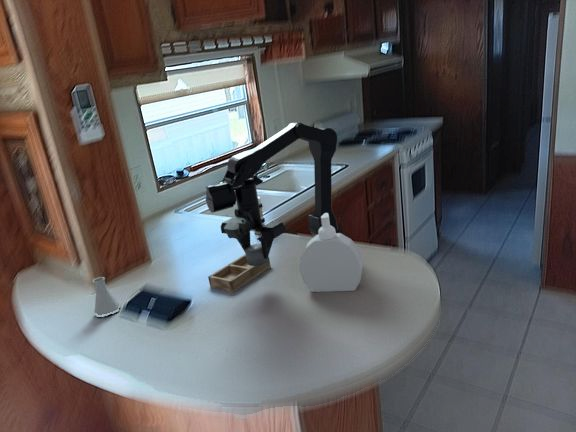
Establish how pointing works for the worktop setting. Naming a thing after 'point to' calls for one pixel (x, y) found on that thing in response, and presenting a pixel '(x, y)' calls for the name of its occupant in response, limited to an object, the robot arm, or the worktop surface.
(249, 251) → the lid
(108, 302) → the flask
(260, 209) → the sprinkles bottle
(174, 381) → the worktop surface
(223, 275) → the holder
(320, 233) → the soap bottle
